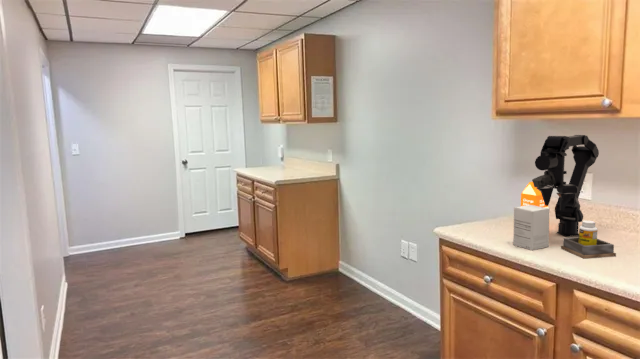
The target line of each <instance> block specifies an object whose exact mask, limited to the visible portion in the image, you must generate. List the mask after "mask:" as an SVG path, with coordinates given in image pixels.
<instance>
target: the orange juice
mask: <svg viewBox="0 0 640 359" xmlns="http://www.w3.org/2000/svg"><path fill="white" fill-rule="evenodd" d="M536 188H537V187H534V184H533V181H529V182H528V184H526V186H525V188H524V189H523V191H522V192H521V193H520V206H526V205H535V206H539V207H545V208H549V205H548V206H545V203H544V200H543V197H542V194H541V192H540V191H539V190H538V189H536Z"/></svg>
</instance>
